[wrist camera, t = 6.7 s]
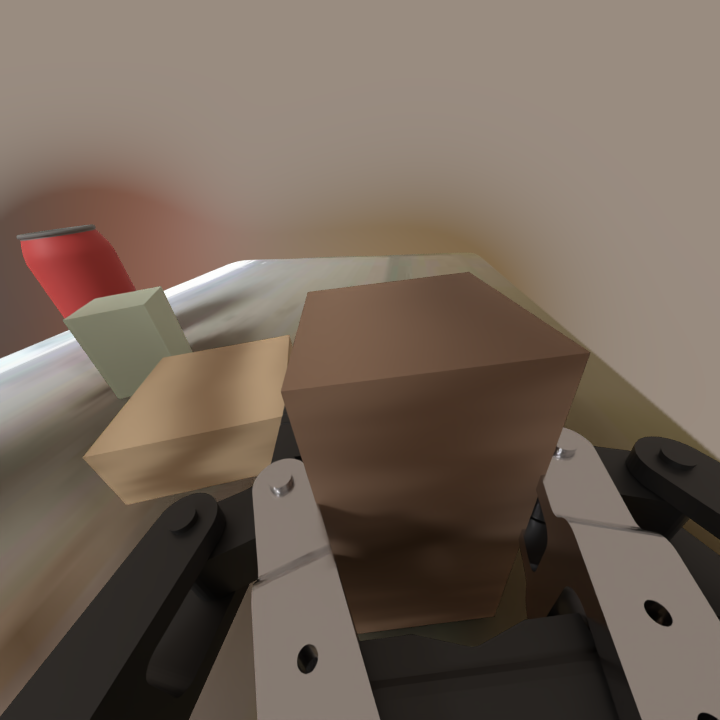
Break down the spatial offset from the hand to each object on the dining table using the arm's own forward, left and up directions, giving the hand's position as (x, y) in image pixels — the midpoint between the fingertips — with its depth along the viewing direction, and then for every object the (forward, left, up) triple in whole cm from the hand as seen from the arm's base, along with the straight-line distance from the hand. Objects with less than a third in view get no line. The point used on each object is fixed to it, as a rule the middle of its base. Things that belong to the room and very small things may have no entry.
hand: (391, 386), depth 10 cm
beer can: (-27, +22, -6) cm, 36 cm away
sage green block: (-19, +14, -6) cm, 25 cm away
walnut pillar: (0, -3, -6) cm, 7 cm away
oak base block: (-10, +6, -7) cm, 14 cm away
